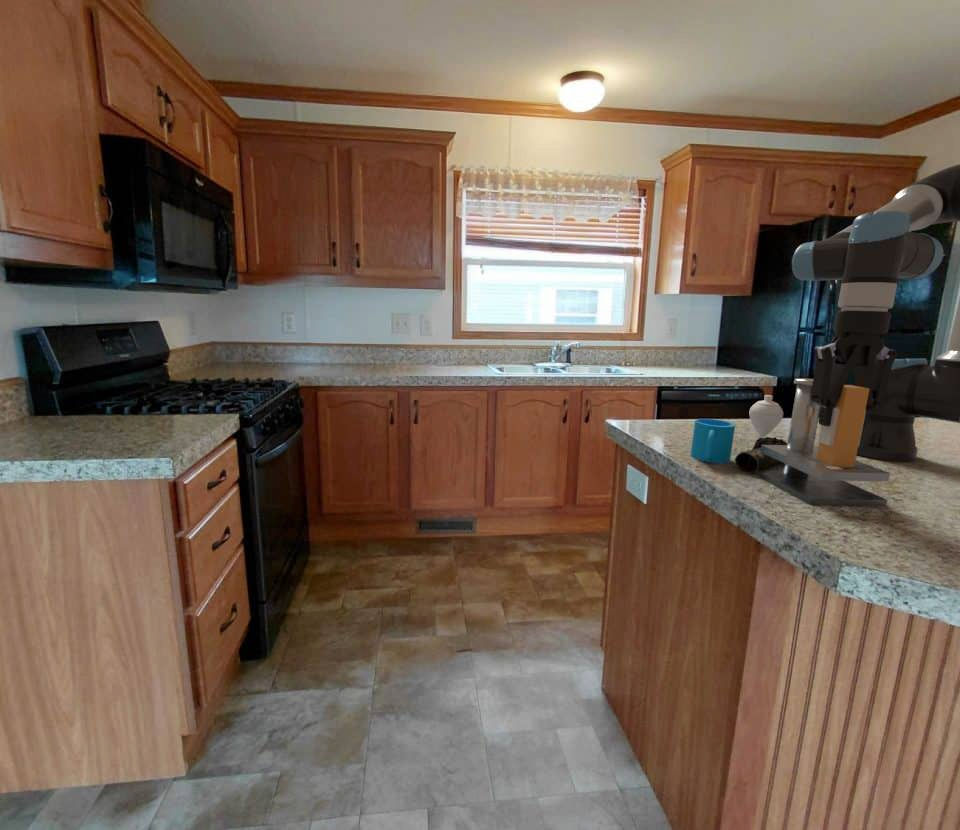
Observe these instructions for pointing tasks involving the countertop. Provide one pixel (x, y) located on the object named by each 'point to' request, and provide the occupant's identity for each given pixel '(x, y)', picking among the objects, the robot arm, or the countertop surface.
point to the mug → (712, 440)
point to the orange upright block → (846, 428)
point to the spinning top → (765, 415)
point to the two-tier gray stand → (816, 462)
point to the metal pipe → (757, 456)
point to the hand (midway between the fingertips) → (838, 443)
